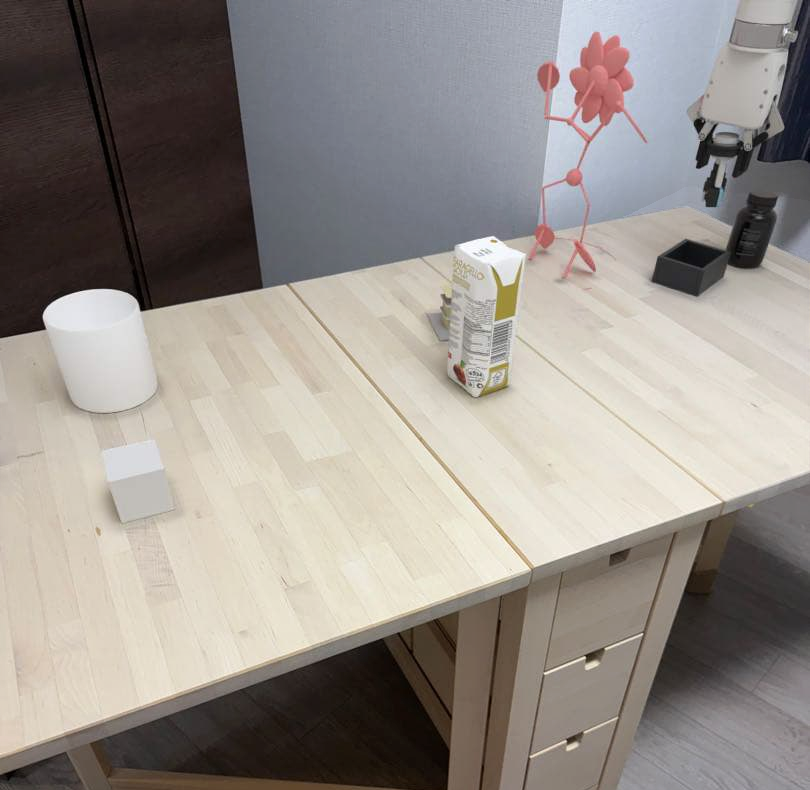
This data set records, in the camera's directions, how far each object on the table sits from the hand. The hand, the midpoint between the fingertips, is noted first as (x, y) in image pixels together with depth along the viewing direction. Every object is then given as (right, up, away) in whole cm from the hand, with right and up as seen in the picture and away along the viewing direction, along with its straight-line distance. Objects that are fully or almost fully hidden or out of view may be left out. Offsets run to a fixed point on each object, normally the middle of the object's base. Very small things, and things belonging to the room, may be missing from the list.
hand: (719, 169), depth 118 cm
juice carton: (-40, -36, -12) cm, 55 cm away
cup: (-90, -38, -15) cm, 99 cm away
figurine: (-19, -8, +18) cm, 27 cm away
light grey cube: (-80, -55, -32) cm, 102 cm away
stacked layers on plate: (-41, -25, 0) cm, 48 cm away
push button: (0, -4, +3) cm, 5 cm away
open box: (0, -13, +13) cm, 18 cm away
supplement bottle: (+12, -8, +19) cm, 24 cm away
